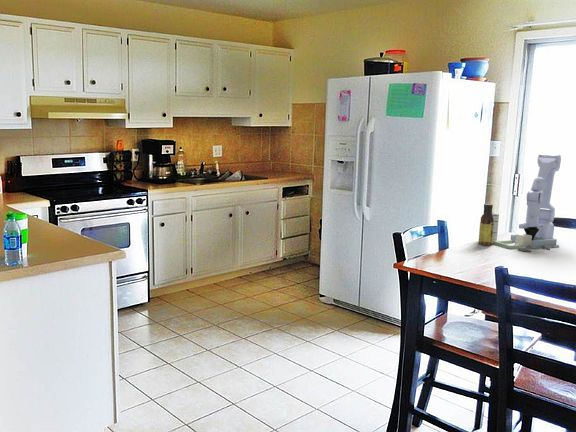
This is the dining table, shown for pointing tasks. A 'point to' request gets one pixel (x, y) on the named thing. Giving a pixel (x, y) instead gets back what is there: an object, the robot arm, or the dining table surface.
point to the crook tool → (550, 246)
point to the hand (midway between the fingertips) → (529, 242)
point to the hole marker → (524, 250)
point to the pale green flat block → (504, 244)
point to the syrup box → (495, 226)
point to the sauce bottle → (486, 226)
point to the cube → (523, 239)
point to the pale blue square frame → (538, 241)
